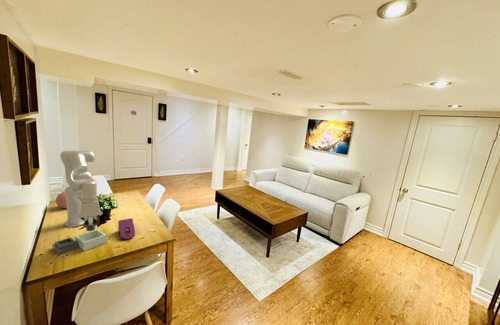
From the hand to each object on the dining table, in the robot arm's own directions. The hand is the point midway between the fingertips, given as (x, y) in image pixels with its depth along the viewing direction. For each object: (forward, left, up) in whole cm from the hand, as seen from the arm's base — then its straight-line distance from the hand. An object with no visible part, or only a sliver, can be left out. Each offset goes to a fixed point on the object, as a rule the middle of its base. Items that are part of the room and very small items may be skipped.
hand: (90, 224), depth 138 cm
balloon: (-82, +15, -14) cm, 85 cm away
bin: (0, 0, -14) cm, 14 cm away
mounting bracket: (+5, +21, -14) cm, 26 cm away
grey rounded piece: (0, 0, -3) cm, 3 cm away
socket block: (-6, -12, -14) cm, 19 cm away
